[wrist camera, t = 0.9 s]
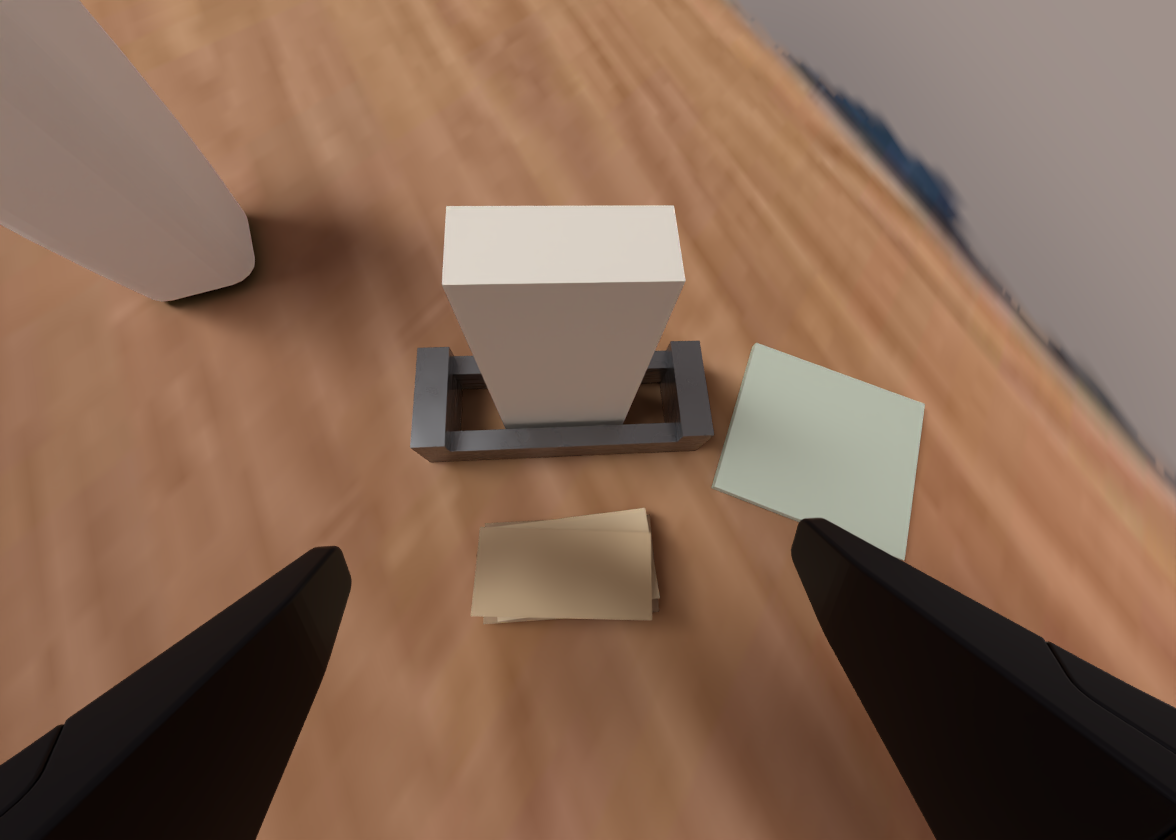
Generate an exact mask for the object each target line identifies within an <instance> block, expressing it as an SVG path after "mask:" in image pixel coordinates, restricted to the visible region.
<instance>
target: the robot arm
mask: <svg viewBox="0 0 1176 840" xmlns="http://www.w3.org/2000/svg"><path fill="white" fill-rule="evenodd" d="M791 555H792V560H793V563H794V565H795V567H796V570H797V572H798V574H799V577H800V579H801V581H802V584H803V586H804V588H805V591H806V593H807V595H808V598H809V600H810V602H811V605H812V607H813V610H814V612H815V614H816V617H817V619H818V621H819V623H820V626H821V628H822V630H823V632H824V634H825V636H826V638H827V640H828V642H829V644H830V646H831V647H832V649H833V651H834V653H835V655H836V657H837V658H838V660H839V662H840V664H841V666H842V667H843V669H844V671H845V673H846V675H847V677H848V678H849V680H850V682H851V684H852V686H853V688H854V689H855V691H856V693H857V695H858V697H859V699H860V700H861V702H862V704H863V706H864V708H865V710H866V711H867V713H868V715H869V717H870V719H871V721H872V722H873V724H874V726H875V728H876V730H877V732H878V733H879V735H880V737H881V739H882V741H883V743H884V744H885V746H886V748H887V750H888V752H889V754H890V755H891V757H892V759H893V761H894V763H895V765H896V766H897V768H898V770H899V772H900V774H901V776H902V777H903V779H904V781H905V783H906V785H907V787H908V788H909V790H910V792H911V794H912V796H913V798H914V799H915V801H916V803H917V805H918V807H919V809H920V810H921V812H922V814H923V816H924V818H925V820H926V821H927V823H928V825H929V827H930V829H931V831H932V832H933V834H934V836H935V838H936V840H1176V708H1174V707H1172V706H1170V705H1169V704H1167V703H1165V702H1163V701H1161V700H1159V699H1157V698H1155V697H1153V696H1151V695H1149V694H1147V693H1145V692H1143V691H1141V690H1139V689H1137V688H1135V687H1133V686H1131V685H1129V684H1127V683H1125V682H1124V681H1122V680H1120V679H1118V678H1116V677H1114V676H1112V675H1110V674H1109V673H1107V672H1105V671H1103V670H1101V669H1099V668H1097V667H1095V666H1094V665H1092V664H1090V663H1088V662H1086V661H1084V660H1082V659H1080V658H1079V657H1077V656H1075V655H1073V654H1071V653H1070V652H1068V651H1066V650H1064V649H1062V648H1060V647H1059V646H1057V645H1055V644H1053V643H1051V642H1045V640H1044V639H1043V638H1042V637H1040V636H1038V635H1037V634H1035V633H1033V632H1031V631H1029V630H1027V629H1026V628H1024V627H1022V626H1020V625H1018V624H1016V623H1015V622H1013V621H1011V620H1009V619H1007V618H1005V617H1004V616H1002V615H1000V614H998V613H996V612H994V611H993V610H991V609H989V608H987V607H985V606H983V605H982V604H980V603H978V602H976V601H974V600H973V599H971V598H969V597H967V596H965V595H963V594H962V593H960V592H958V591H956V590H954V589H952V588H951V587H949V586H947V585H945V584H943V583H941V582H940V581H938V580H936V579H934V578H932V577H930V576H929V575H927V574H925V573H923V572H921V571H919V570H918V569H916V568H914V567H912V566H910V565H909V564H907V563H905V562H903V561H901V560H899V559H898V558H896V557H894V556H892V555H890V554H888V553H887V552H885V551H883V550H881V549H879V548H877V547H876V546H874V545H872V544H870V543H868V542H866V541H865V540H863V539H861V538H859V537H857V536H855V535H854V534H852V533H850V532H848V531H846V530H844V529H843V528H841V527H839V526H837V525H835V524H834V523H832V522H830V521H828V520H826V519H824V518H819V517H818V518H804V519H802V520H801V521H800V522H799V524H798V527H797V530H796V534H795V537H794V541H793V544H792V548H791ZM350 590H351V575H350V573H349V570H348V567H347V564H346V561H345V558H344V556H343V553H342V551H341V549H340V548H339V547H337V546H323V547H315V548H313V549H311V550H309V551H308V552H306V553H305V554H304V555H302V556H301V557H299V558H298V559H296V560H295V561H293V562H292V563H291V564H289V565H288V566H286V567H285V568H283V569H282V570H281V571H279V572H278V573H276V574H275V575H273V576H272V577H271V578H269V579H268V580H266V581H265V582H263V583H262V584H260V585H259V586H258V587H256V588H255V589H253V590H252V591H250V592H249V593H248V594H246V595H245V596H243V597H242V598H240V599H239V600H238V601H236V602H235V603H233V604H232V605H230V606H229V607H227V608H226V609H225V610H223V611H222V612H220V613H219V614H217V615H216V616H215V617H213V618H212V619H210V620H209V621H207V622H206V623H205V624H203V625H202V626H200V627H199V628H197V629H196V630H194V631H193V632H192V633H190V634H189V635H187V636H186V637H184V638H183V639H182V640H180V641H179V642H177V643H176V644H174V645H173V646H172V647H170V648H169V649H167V650H166V651H164V652H163V653H161V654H160V655H159V656H157V657H156V658H154V659H153V660H151V661H150V662H149V663H147V664H146V665H144V666H143V667H141V668H140V669H138V670H137V671H136V672H134V673H133V674H131V675H130V676H128V677H127V678H126V679H124V680H123V681H121V682H120V683H118V684H117V685H115V686H114V687H113V688H111V689H110V690H108V691H107V692H105V693H104V694H103V695H101V696H100V697H98V698H97V699H95V700H94V701H92V702H91V703H90V704H88V705H87V706H85V707H84V708H82V709H81V710H80V711H78V712H77V713H75V714H74V715H72V716H71V717H70V718H68V719H67V720H66V722H65V724H64V725H63V724H62V725H58V726H56V727H55V728H54V729H52V730H51V731H49V732H48V733H46V734H45V735H44V736H42V737H41V738H39V739H38V740H36V741H35V742H33V743H32V744H31V745H29V746H28V747H26V748H25V749H23V750H22V751H21V752H19V753H18V754H16V755H15V756H13V757H12V758H10V759H9V760H7V761H6V762H4V763H3V764H2V765H0V840H256V837H257V835H258V833H259V830H260V828H261V825H262V823H263V821H264V818H265V816H266V813H267V811H268V809H269V806H270V804H271V801H272V799H273V797H274V794H275V792H276V789H277V787H278V785H279V782H280V780H281V778H282V775H283V773H284V770H285V768H286V766H287V763H288V761H289V758H290V756H291V754H292V751H293V749H294V746H295V744H296V742H297V739H298V737H299V734H300V732H301V730H302V727H303V725H304V722H305V720H306V718H307V715H308V713H309V711H310V708H311V706H312V703H313V701H314V699H315V696H316V694H317V691H318V689H319V687H320V684H321V681H322V679H323V676H324V674H325V671H326V668H327V665H328V662H329V659H330V656H331V653H332V649H333V646H334V643H335V640H336V636H337V633H338V630H339V626H340V623H341V620H342V617H343V613H344V610H345V607H346V603H347V600H348V597H349V593H350Z"/></svg>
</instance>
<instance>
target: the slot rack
mask: <svg viewBox="0 0 1176 840" xmlns="http://www.w3.org/2000/svg"><path fill="white" fill-rule="evenodd" d="M645 383H660V388H661V397H662V405H663V413H664V422H665V423H652V424H627V425H602V426H576V427H551V428H525V429H500V430H474V431H461V413H462V389H488V388H487V385H486V383H485V381H484V379H483V376H482V374H481V372H480V370H479V367H478V365H477V363H476V361H475V358H474V356H454V355H453V353H452V352H451V350H450V348H449V347H434V348H418V349H417V363H416V377H415V390H414V404H413V417H412V431H411V445H410V448H411V449H413V450H414V451H415V452H417V453H418V454H420V455H421V456H422V457H424V458H425V459H427V460H428V461H429V462H446V461H468V460H491V459H513V458H536V457H559V456H581V455H604V454H626V453H649V452H671V451H694V450H697V449H698V448H699V447H700V446H701V445H703V444H704V443H705V442H706V441H708V440H709V439H710V438H711V437H712V436H714V430H713V424H712V418H711V411H710V405H709V399H708V392H707V386H706V379H705V373H704V367H703V360H702V354H701V347H700V341H671V342H670V344H669V346H668V348H667V350H666V351H655V352H654V354H653V356H652V359H651V361H650V363H649V365H648V368H647V370H646V372H645V375H644V377H643V379H642V381H641V384H645Z"/></svg>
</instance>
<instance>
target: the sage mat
mask: <svg viewBox="0 0 1176 840" xmlns="http://www.w3.org/2000/svg"><path fill="white" fill-rule="evenodd" d="M924 407H925V404H924V403H921V402H918V401H915V400H912V399H910V398H907V397H904V396H901V395H899V394H896V393H893V392H890V391H888V390H885V389H882V388H879V387H877V386H874V385H871V384H868V383H866V382H863V381H860V380H857V379H855V378H852V377H849V376H846V375H844V374H841V373H838V372H835V371H833V370H830V369H827V368H824V367H822V366H819V365H816V364H813V363H811V362H808V361H805V360H802V359H800V358H797V357H794V356H791V355H789V354H786V353H783V352H780V351H778V350H775V349H772V348H769V347H767V346H764V345H761V344H758V343H755V344H754V345H753V346H752V349H751V353H750V356H749V360H748V363H747V367H746V370H745V374H744V377H743V380H742V384H741V387H740V391H739V394H738V398H737V401H736V405H735V408H734V412H733V415H732V418H731V422H730V425H729V429H728V432H727V436H726V439H725V443H724V446H723V449H722V453H721V456H720V460H719V463H718V467H717V470H716V474H715V477H714V480H713V484H712V487H711V488H713V489H715V490H718V491H720V492H723V493H725V494H728V495H731V496H733V497H736V498H738V499H741V500H743V501H746V502H749V503H751V504H754V505H756V506H759V507H761V508H764V509H767V510H769V511H772V512H774V513H777V514H779V515H782V516H785V517H787V518H790V519H792V520H795V521H797V522H800V521H801V520H802V519H804V518H818V517H819V518H824V519H826V520H828V521H830V522H832V523H834V524H835V525H837V526H839V527H841V528H843V529H844V530H846V531H848V532H850V533H852V534H854V535H855V536H857V537H859V538H861V539H863V540H865V541H866V542H868V543H870V544H872V545H874V546H876V547H877V548H879V549H881V550H883V551H885V552H887V553H888V554H890V555H892V556H894V557H896V558H898V559H899V560H905V553H906V545H907V537H908V530H909V522H910V514H911V507H912V499H913V491H914V484H915V476H916V468H917V461H918V453H919V445H920V438H921V430H922V422H923V415H924Z"/></svg>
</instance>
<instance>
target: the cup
mask: <svg viewBox="0 0 1176 840" xmlns="http://www.w3.org/2000/svg"><path fill="white" fill-rule="evenodd" d="M0 225H2V226H4V227H6V228H8V229H10V230H12V231H13V232H15V233H17V234H19V235H21V236H23V237H25V238H26V239H28V240H30V241H32V242H34V243H36V244H38V245H40V246H42V247H44V248H46V249H48V250H50V251H52V252H54V253H56V254H58V255H60V256H62V257H64V258H66V259H68V260H70V261H72V262H74V263H76V264H78V265H80V266H82V267H84V268H86V269H88V270H90V271H92V272H94V273H96V274H99V275H101V276H103V277H105V278H107V279H109V280H112V281H114V282H116V283H118V284H120V285H122V286H125V287H127V288H129V289H131V290H133V291H135V292H138V293H140V294H142V295H144V296H146V297H148V298H151V299H153V300H157V301H171V300H176V299H180V298H184V297H188V296H192V295H195V294H199V293H203V292H207V291H211V290H215V289H219V288H223V287H226V286H230V285H233V284H236V283H238V282H241V281H243V280H244V279H245V278H246V277H247V276H249V275H250V273H251V272H252V270H253V268H254V265H255V256H254V251H253V245H252V240H251V235H250V229H249V224H248V219H247V216H246V214H245V212H244V211H243V209H242V208H241V206H240V205H239V204H238V202H237V201H236V199H235V198H234V196H233V195H232V194H231V192H230V191H229V189H228V188H227V186H226V185H225V184H224V182H223V181H222V179H221V178H220V176H219V175H218V174H217V172H216V171H215V169H214V168H213V167H212V165H211V164H210V163H209V161H208V160H207V159H206V157H205V156H204V155H203V153H202V152H201V151H200V149H199V148H198V147H197V145H196V144H195V143H194V141H193V140H192V139H191V137H190V136H189V135H188V133H187V132H186V131H185V129H184V128H183V127H182V125H181V124H180V123H179V121H178V120H177V119H176V118H175V116H174V115H173V114H172V113H171V111H170V110H169V109H168V108H167V106H166V105H165V104H164V103H163V101H162V100H161V99H160V98H159V97H158V95H157V94H156V93H155V92H154V90H153V89H152V88H151V87H150V85H149V84H148V83H147V82H146V80H145V79H144V78H143V77H142V75H141V74H140V73H139V72H138V70H137V69H136V68H135V67H134V66H133V64H132V63H131V62H130V61H129V59H128V58H127V57H126V56H125V54H124V53H123V52H122V51H121V49H120V48H119V47H118V46H117V45H116V43H115V42H114V41H113V40H112V39H111V37H110V36H109V35H108V34H107V33H106V31H105V30H104V29H103V28H102V27H101V26H100V24H99V23H98V22H97V21H96V20H95V18H94V17H93V16H92V15H91V14H90V12H89V11H88V10H87V9H86V8H85V7H84V5H83V4H82V3H81V2H80V1H79V0H0Z"/></svg>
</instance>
